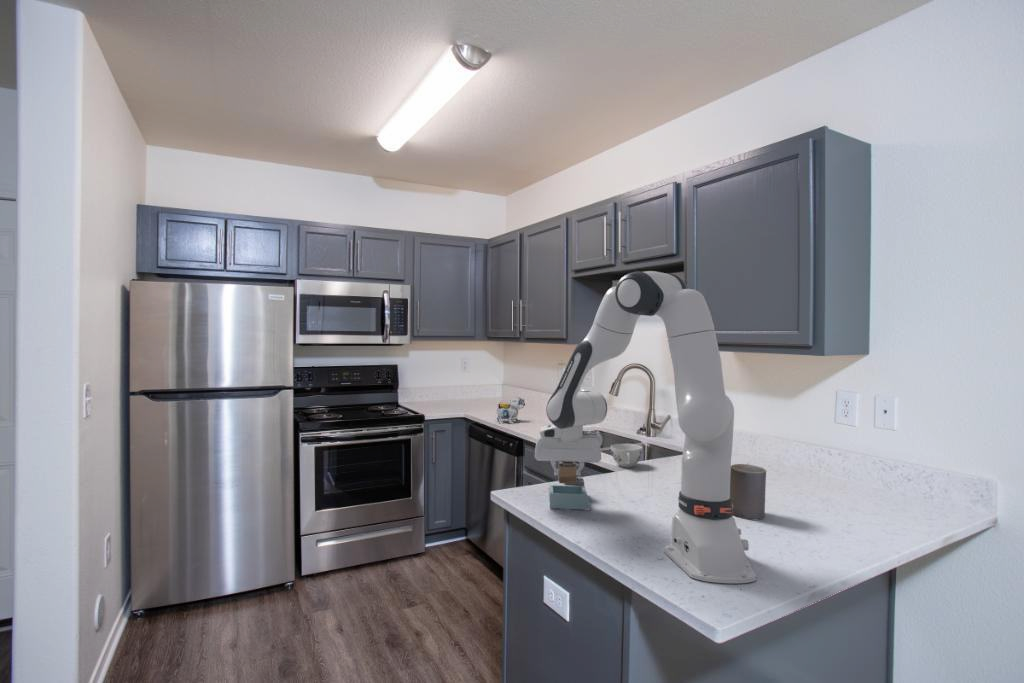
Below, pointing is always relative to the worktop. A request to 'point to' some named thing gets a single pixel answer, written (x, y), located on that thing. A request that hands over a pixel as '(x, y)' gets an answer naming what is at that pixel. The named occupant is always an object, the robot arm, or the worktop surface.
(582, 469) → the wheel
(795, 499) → the worktop surface
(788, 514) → the worktop surface
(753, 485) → the pillar candle
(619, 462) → the teacup
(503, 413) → the robotic toy
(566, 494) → the teal open storage bin
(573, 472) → the brown wooden block
